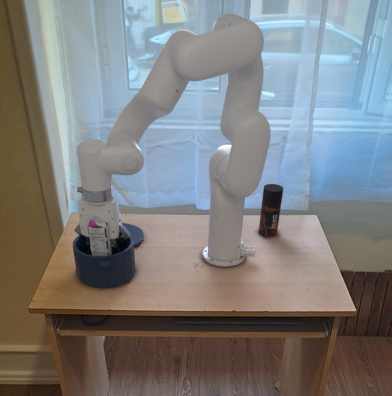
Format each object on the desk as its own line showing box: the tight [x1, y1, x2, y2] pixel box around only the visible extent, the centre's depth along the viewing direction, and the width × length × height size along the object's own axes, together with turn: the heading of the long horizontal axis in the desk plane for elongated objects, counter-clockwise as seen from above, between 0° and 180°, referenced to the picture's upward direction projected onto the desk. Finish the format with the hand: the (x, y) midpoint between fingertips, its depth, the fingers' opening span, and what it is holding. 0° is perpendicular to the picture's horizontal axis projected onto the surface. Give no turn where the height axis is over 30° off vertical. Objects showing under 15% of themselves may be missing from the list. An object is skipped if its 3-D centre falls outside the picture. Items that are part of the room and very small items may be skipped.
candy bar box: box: [88, 221, 113, 256], centre depth 134 cm, size 11×5×16 cm, turn 179°
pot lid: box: [121, 222, 145, 247], centre depth 153 cm, size 17×17×6 cm
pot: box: [72, 232, 136, 289], centre depth 136 cm, size 16×21×10 cm
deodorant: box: [258, 183, 284, 238], centre depth 155 cm, size 6×6×15 cm
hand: (104, 256), depth 136 cm, fingers closed on candy bar box, 5 cm apart
